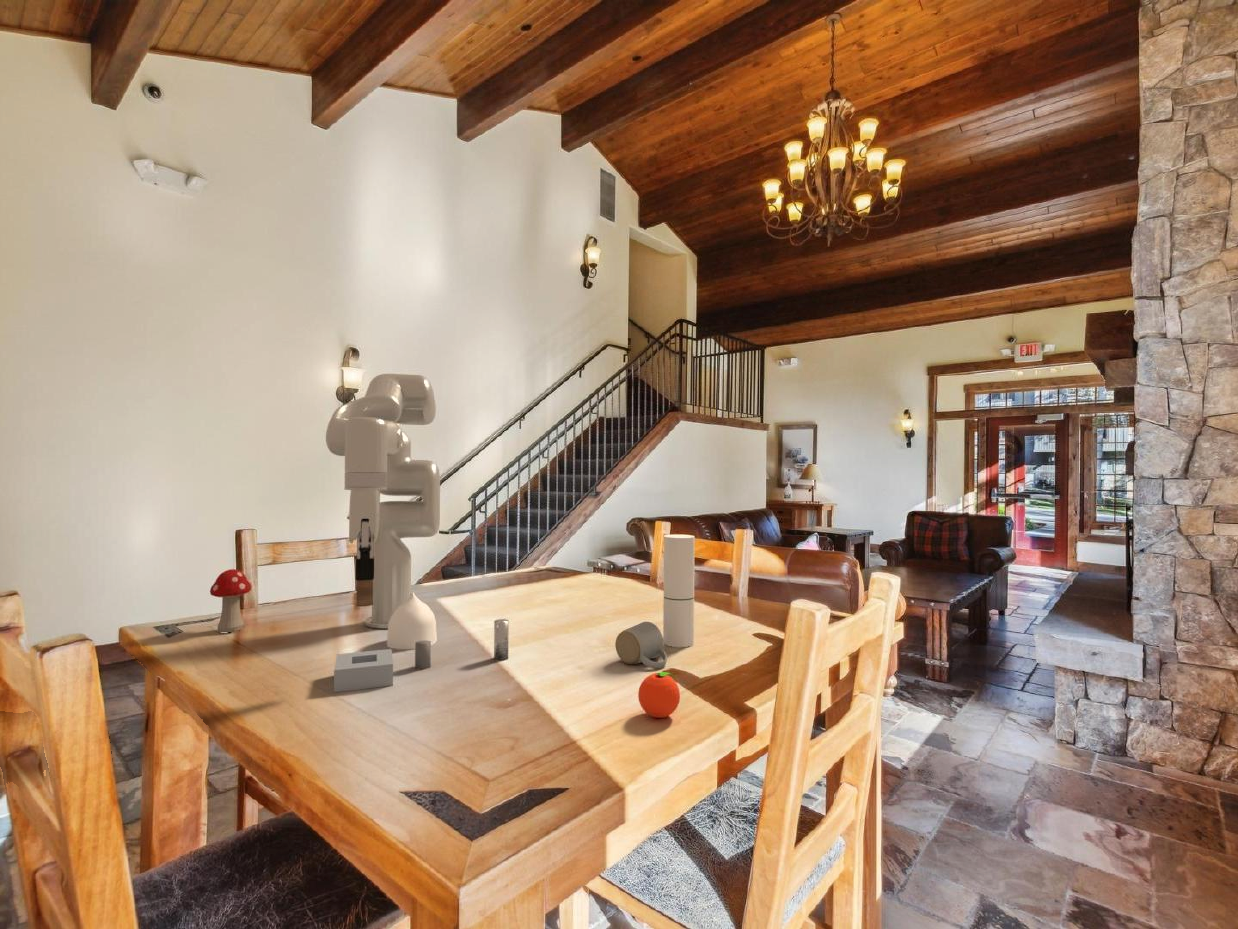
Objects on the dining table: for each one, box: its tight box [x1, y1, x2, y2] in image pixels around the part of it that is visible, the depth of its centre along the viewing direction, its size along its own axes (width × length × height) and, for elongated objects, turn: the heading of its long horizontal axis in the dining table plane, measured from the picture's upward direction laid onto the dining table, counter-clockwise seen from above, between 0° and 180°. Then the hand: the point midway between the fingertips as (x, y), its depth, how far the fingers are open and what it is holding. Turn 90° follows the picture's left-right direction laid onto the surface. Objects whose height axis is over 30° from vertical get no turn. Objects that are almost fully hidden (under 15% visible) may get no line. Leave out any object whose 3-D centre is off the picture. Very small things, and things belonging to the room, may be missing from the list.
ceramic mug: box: [614, 621, 668, 670], centre depth 129 cm, size 11×8×8 cm
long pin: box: [355, 534, 374, 607], centre depth 117 cm, size 3×3×14 cm
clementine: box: [637, 671, 681, 719], centre depth 102 cm, size 8×7×7 cm
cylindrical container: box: [662, 534, 696, 648], centre depth 144 cm, size 7×7×25 cm
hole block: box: [333, 648, 394, 693], centre depth 117 cm, size 10×10×4 cm
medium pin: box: [493, 618, 510, 661], centre depth 131 cm, size 3×3×8 cm
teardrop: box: [386, 590, 438, 650], centre depth 142 cm, size 11×11×12 cm
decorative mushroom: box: [209, 568, 253, 633], centre depth 151 cm, size 10×9×15 cm
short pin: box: [414, 640, 432, 670], centre depth 125 cm, size 3×3×5 cm
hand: (365, 577), depth 117 cm, fingers closed on long pin, 3 cm apart
